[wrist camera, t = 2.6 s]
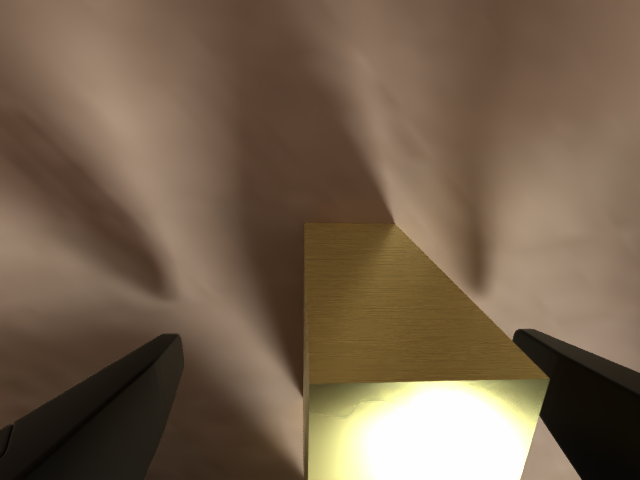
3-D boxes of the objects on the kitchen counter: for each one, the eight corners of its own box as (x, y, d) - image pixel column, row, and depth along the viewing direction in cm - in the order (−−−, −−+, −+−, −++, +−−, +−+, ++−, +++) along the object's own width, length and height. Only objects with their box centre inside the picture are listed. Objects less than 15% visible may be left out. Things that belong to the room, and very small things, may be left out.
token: (394, 223, 9) (549, 378, 3) (377, 395, 11) (459, 679, 5) (304, 222, 9) (308, 383, 3) (303, 397, 11) (305, 690, 5)
